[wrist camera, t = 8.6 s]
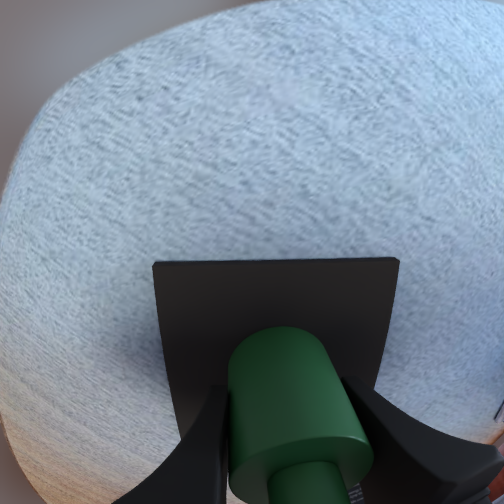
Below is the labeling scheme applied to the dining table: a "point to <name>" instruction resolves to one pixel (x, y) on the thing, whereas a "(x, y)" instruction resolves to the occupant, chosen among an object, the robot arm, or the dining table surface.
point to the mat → (268, 316)
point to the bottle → (291, 423)
